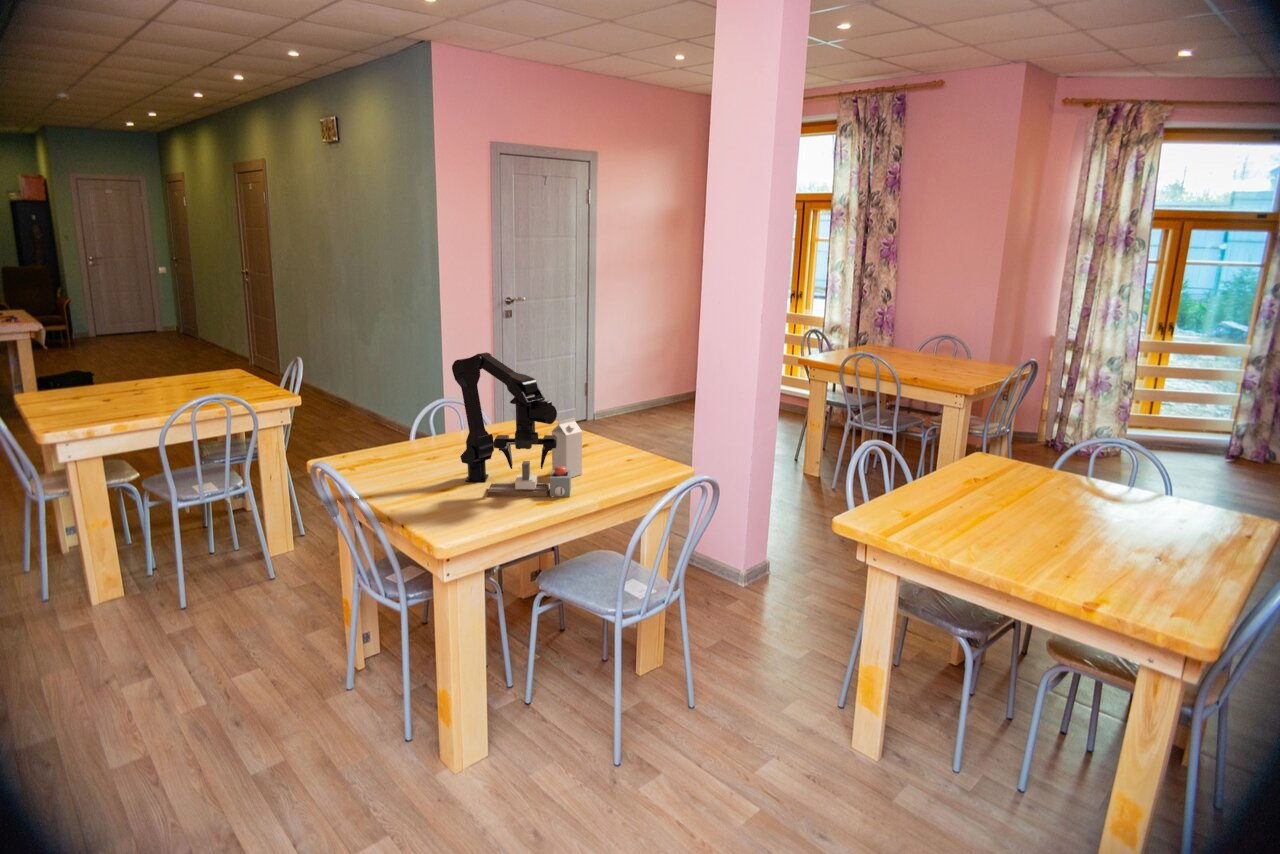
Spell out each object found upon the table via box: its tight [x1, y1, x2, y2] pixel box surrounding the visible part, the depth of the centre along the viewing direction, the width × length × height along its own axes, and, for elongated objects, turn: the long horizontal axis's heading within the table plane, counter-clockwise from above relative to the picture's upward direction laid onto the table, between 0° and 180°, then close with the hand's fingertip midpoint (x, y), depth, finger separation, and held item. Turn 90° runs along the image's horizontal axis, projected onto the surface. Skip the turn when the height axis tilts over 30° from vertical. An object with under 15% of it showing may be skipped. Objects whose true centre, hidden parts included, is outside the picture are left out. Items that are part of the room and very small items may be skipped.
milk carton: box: [551, 417, 583, 478], centre depth 251 cm, size 7×7×19 cm
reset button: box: [555, 466, 566, 476], centre depth 234 cm, size 4×4×3 cm
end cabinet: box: [549, 469, 572, 498], centre depth 235 cm, size 8×6×6 cm
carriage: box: [514, 460, 538, 489], centre depth 234 cm, size 7×6×7 cm
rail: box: [486, 482, 550, 498], centre depth 235 cm, size 8×18×2 cm, turn 92°
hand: (526, 468), depth 234 cm, fingers open, 9 cm apart
